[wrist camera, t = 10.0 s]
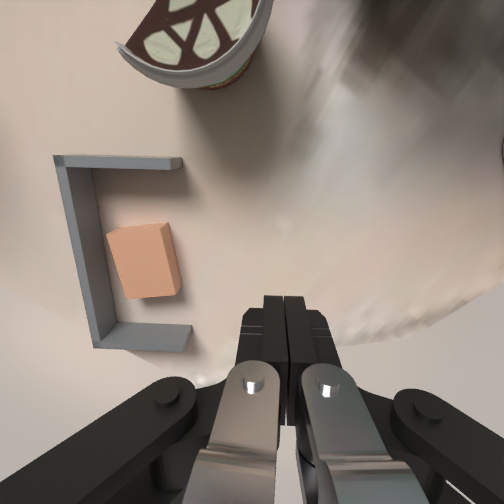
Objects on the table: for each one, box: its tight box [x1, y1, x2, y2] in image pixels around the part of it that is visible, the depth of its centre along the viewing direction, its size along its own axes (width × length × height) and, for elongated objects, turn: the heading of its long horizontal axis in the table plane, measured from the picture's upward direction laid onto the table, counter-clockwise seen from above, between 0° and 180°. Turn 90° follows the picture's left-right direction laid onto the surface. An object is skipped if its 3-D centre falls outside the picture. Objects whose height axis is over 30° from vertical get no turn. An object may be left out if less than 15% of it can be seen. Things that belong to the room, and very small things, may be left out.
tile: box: [106, 222, 182, 299], centre depth 32 cm, size 6×8×3 cm
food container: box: [115, 0, 274, 90], centre depth 21 cm, size 12×6×10 cm, turn 134°
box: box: [53, 155, 192, 352], centre depth 31 cm, size 11×22×4 cm, turn 178°
